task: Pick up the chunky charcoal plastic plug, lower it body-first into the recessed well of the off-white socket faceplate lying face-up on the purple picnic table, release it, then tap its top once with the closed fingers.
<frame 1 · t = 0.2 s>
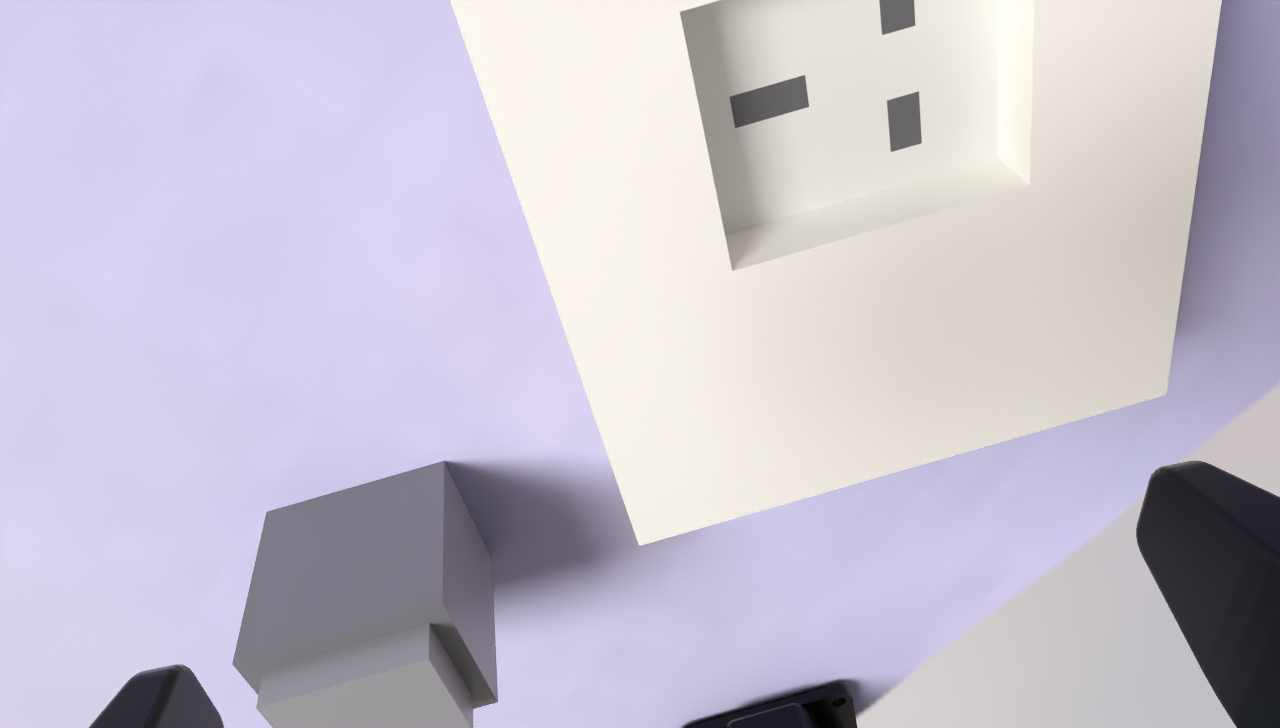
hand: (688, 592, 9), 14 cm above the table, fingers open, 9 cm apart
socket plate: (821, 57, 21), on the table
plug: (384, 534, 27), on the table
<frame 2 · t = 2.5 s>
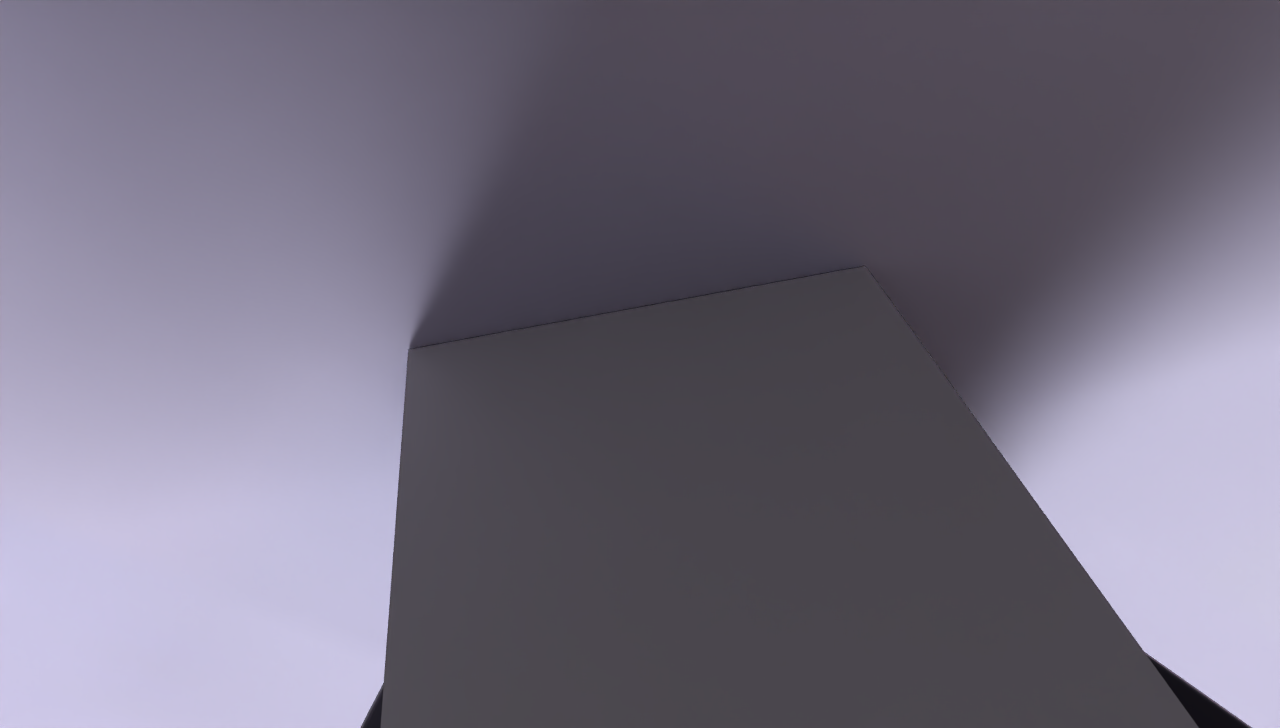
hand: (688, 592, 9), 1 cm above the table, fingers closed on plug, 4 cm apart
plug: (668, 513, 10), on the table, touching gripper
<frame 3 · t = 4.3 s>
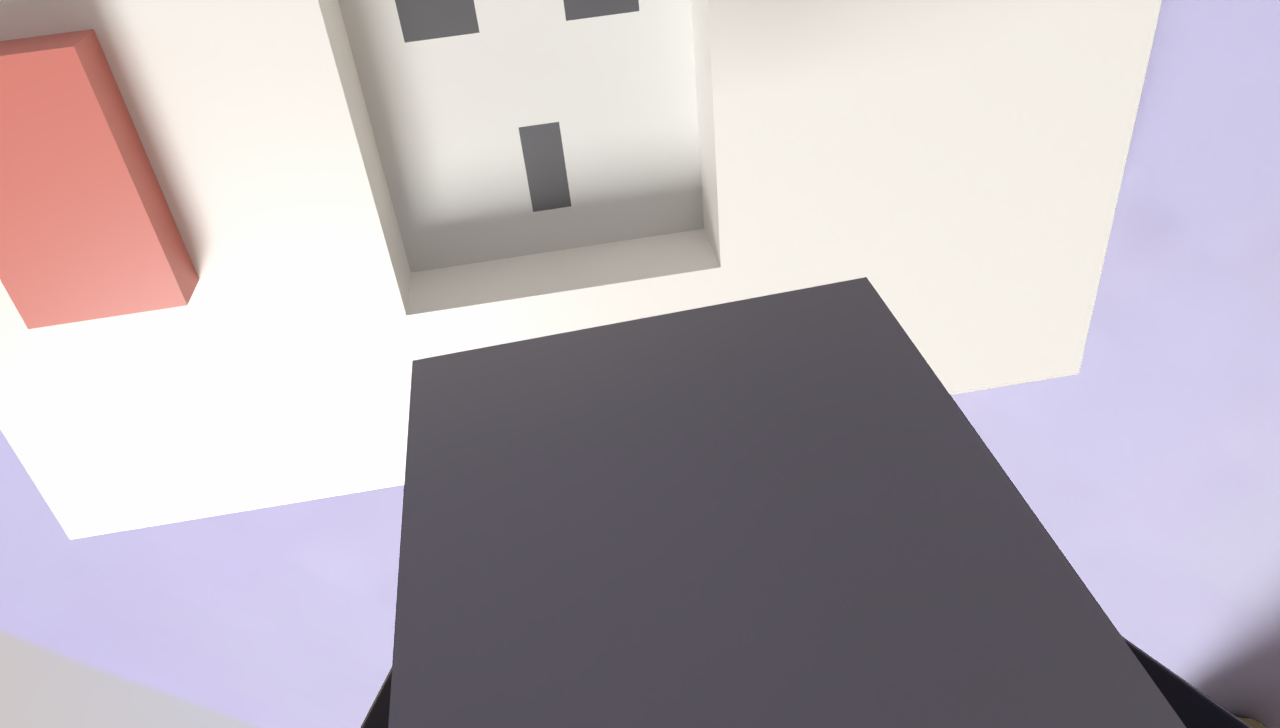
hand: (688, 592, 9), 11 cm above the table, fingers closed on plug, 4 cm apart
socket plate: (527, 51, 17), on the table
plug: (670, 522, 10), point 10 cm above the table, touching gripper
when the fingers open (3 cm above the table, at t = 6.2 s): plug stays where it is, resting on socket plate.
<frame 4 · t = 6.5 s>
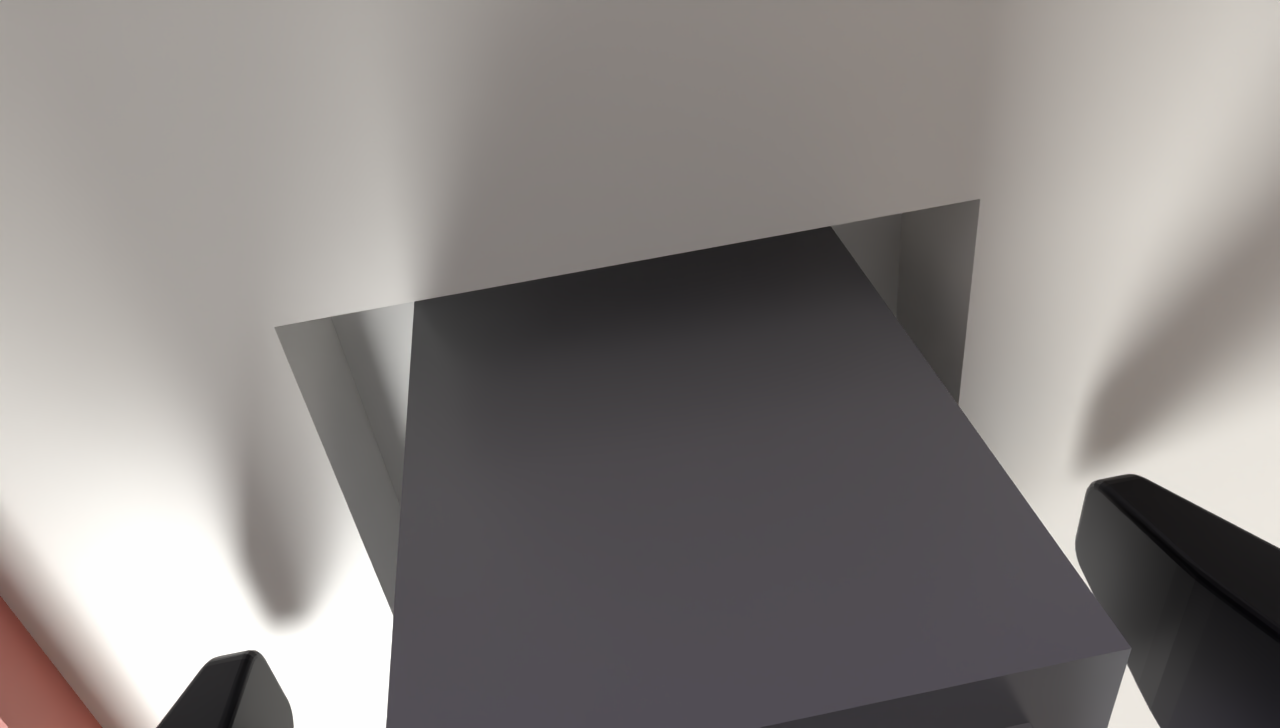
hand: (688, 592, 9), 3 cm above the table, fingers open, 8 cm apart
socket plate: (628, 373, 12), on the table
plug: (652, 459, 10), point 2 cm above the table, touching socket plate
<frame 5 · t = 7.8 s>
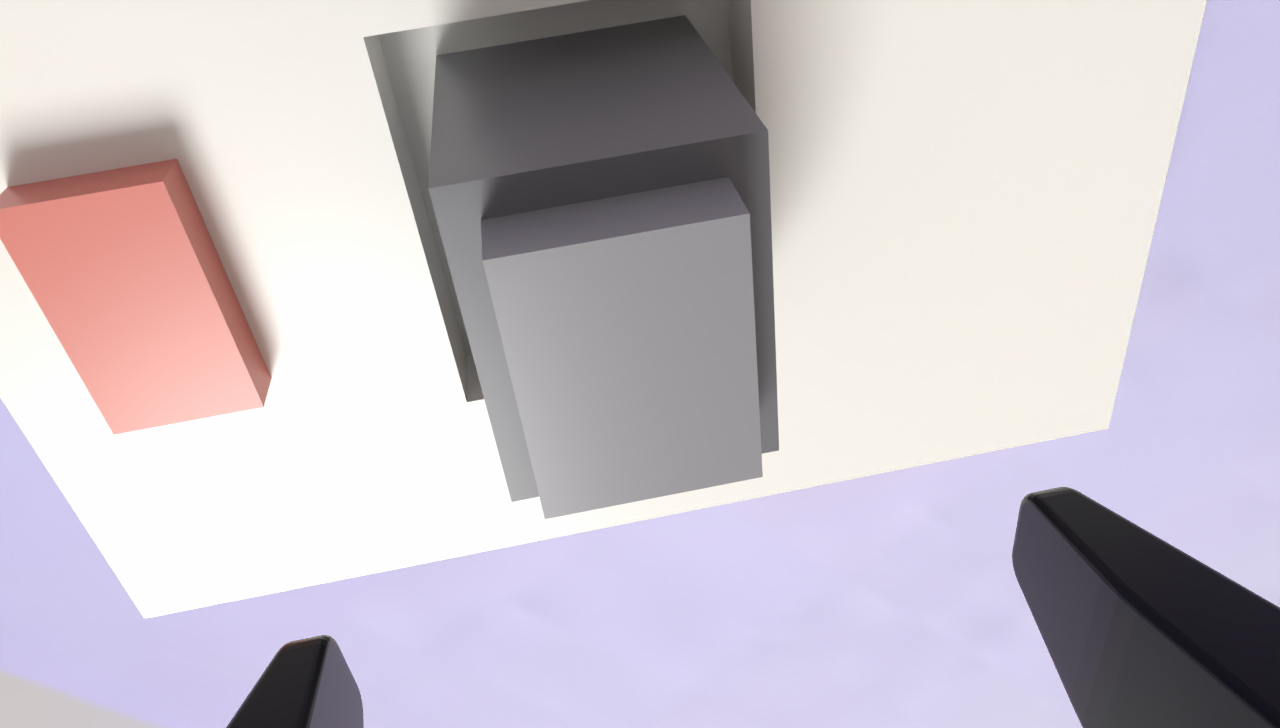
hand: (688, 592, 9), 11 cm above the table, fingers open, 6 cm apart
socket plate: (573, 142, 18), on the table
plug: (584, 179, 16), point 2 cm above the table, touching socket plate
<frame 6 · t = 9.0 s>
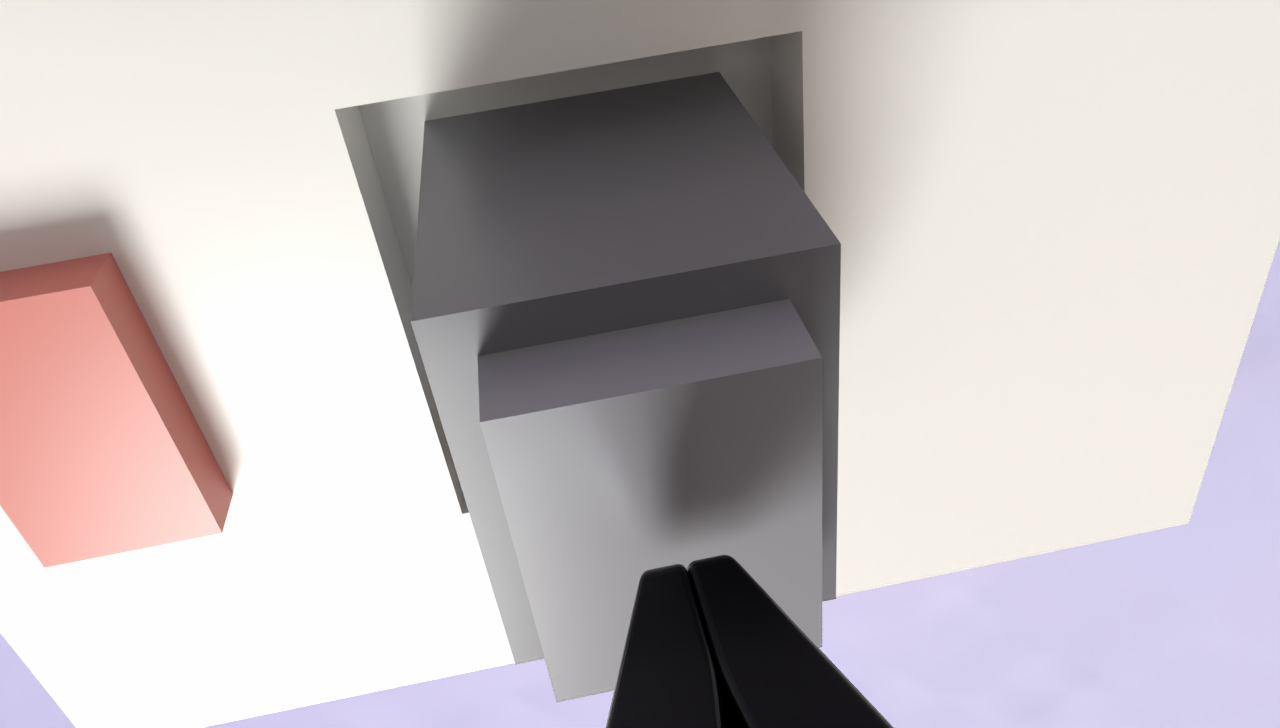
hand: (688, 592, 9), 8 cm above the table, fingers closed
socket plate: (584, 208, 15), on the table
plug: (598, 258, 14), point 2 cm above the table, touching socket plate
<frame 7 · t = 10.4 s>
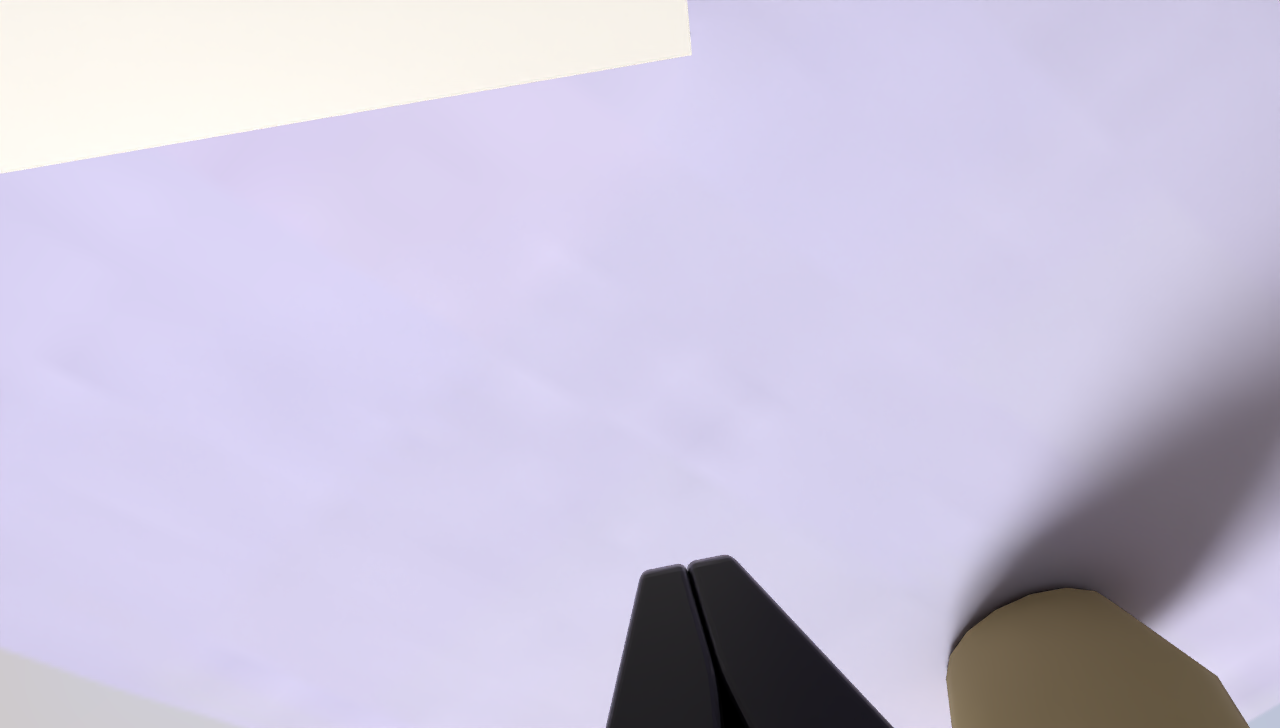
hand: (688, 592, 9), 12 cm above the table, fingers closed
squeeze bottle: (1026, 639, 31), on the table
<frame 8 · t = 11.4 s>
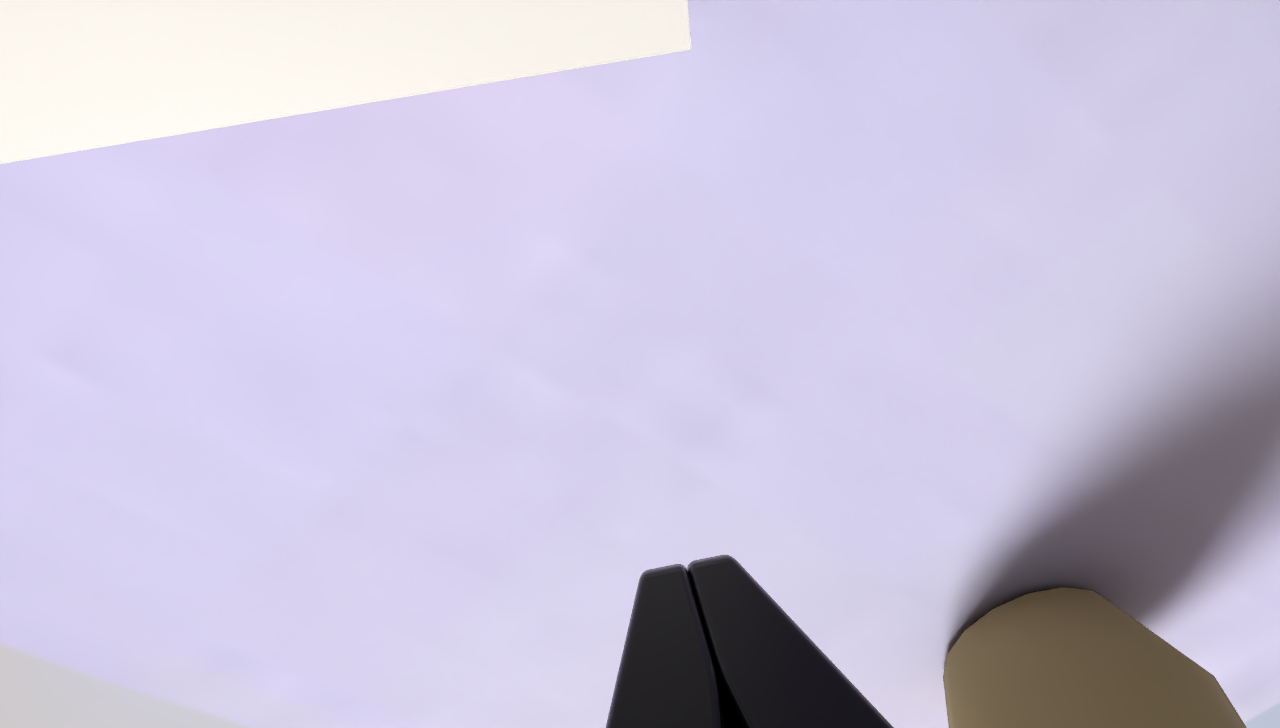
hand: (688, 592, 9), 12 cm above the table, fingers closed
squeeze bottle: (1024, 639, 31), on the table
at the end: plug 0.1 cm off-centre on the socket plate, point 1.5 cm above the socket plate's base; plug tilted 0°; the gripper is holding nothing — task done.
